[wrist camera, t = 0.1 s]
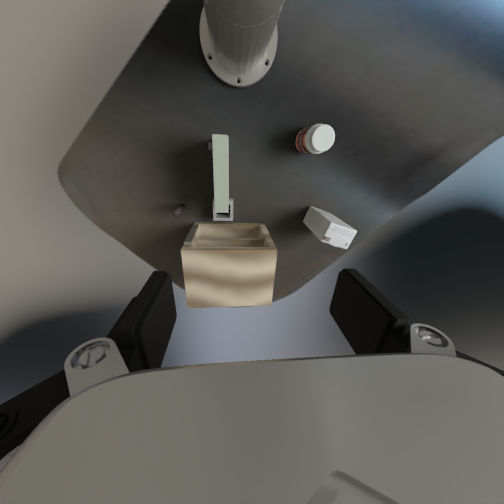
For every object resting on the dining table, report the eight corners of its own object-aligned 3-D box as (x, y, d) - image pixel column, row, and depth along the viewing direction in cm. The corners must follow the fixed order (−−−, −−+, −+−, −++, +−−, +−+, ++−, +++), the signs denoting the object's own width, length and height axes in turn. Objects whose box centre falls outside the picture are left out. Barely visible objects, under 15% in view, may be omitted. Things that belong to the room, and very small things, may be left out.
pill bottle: (291, 136, 41) (304, 132, 33) (312, 122, 40) (331, 114, 32) (301, 158, 43) (316, 159, 35) (321, 145, 42) (341, 143, 34)
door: (211, 138, 39) (205, 133, 30) (233, 139, 40) (234, 135, 31) (213, 216, 46) (210, 231, 37) (232, 216, 47) (233, 231, 38)
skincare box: (331, 212, 48) (360, 229, 38) (322, 229, 50) (348, 250, 39) (308, 205, 47) (332, 220, 36) (300, 222, 49) (320, 242, 38)
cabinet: (179, 204, 44) (156, 225, 31) (265, 206, 46) (279, 227, 33) (186, 267, 51) (170, 308, 38) (260, 267, 53) (271, 305, 40)
